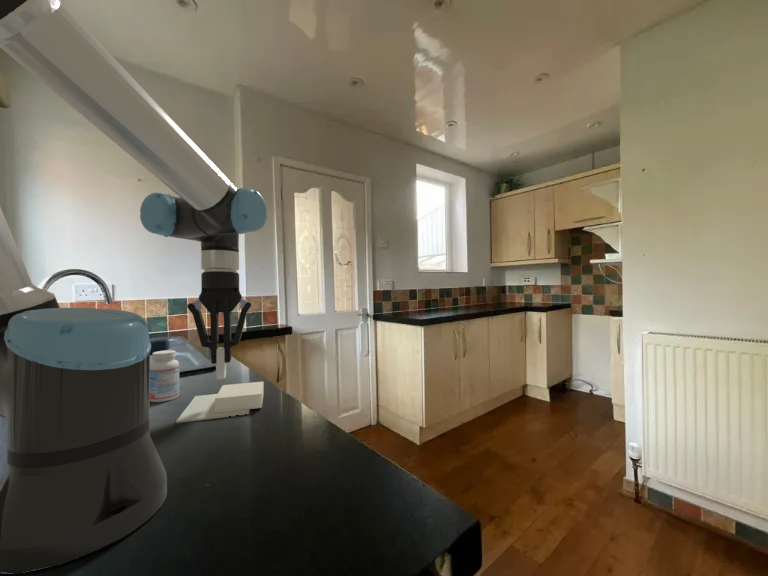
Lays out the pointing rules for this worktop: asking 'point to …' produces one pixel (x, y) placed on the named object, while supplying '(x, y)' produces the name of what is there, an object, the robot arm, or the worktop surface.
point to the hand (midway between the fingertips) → (221, 377)
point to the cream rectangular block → (239, 397)
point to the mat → (205, 410)
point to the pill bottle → (164, 376)
